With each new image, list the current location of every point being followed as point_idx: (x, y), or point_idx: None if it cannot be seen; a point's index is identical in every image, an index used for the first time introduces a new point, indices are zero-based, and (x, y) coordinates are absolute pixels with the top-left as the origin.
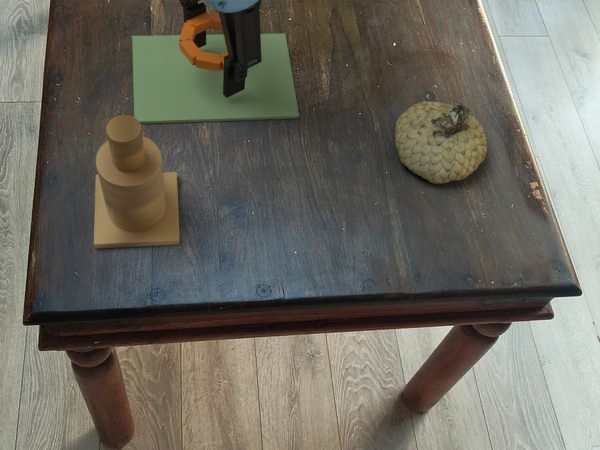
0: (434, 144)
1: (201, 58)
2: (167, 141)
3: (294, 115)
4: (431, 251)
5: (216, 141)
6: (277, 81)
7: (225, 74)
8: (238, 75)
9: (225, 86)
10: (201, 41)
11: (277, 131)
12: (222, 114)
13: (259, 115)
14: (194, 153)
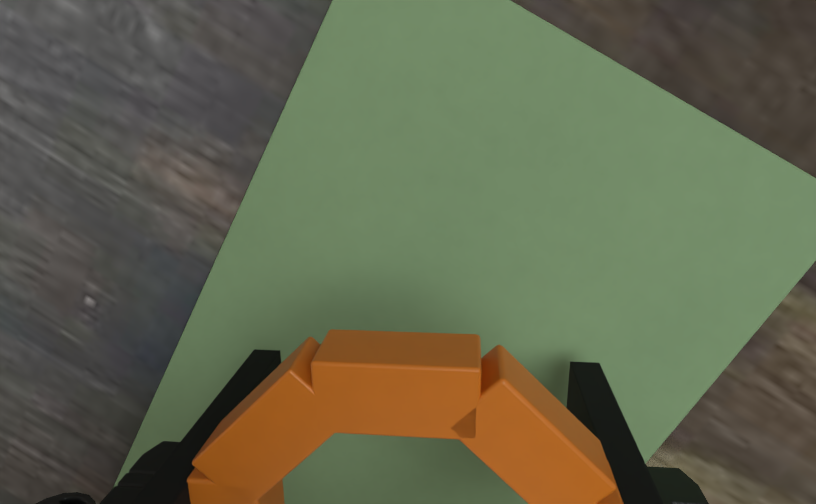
0: None
1: (275, 401)
2: (217, 14)
3: None
4: None
5: (135, 197)
6: None
7: (204, 432)
8: (122, 484)
9: (236, 383)
10: None
11: (91, 407)
12: (223, 290)
13: (160, 400)
14: (114, 85)
